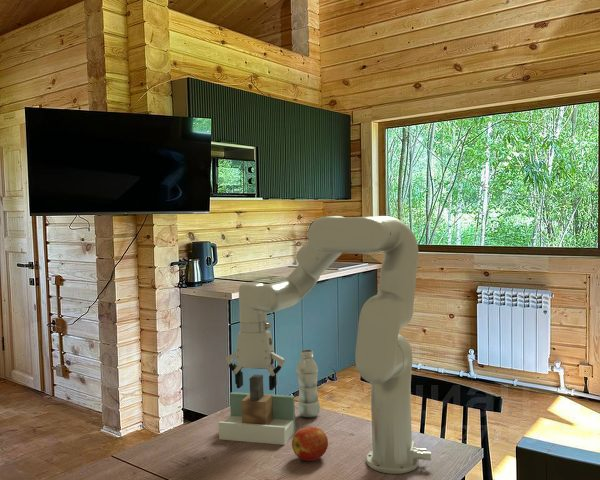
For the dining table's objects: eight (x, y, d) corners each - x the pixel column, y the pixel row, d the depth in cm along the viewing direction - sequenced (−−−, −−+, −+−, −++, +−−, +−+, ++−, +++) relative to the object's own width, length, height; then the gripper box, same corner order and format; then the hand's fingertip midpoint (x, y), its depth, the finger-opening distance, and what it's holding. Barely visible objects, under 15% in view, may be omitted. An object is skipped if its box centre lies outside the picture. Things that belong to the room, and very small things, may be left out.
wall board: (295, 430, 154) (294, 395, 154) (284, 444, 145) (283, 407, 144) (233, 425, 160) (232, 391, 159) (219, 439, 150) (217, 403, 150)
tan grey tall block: (273, 419, 154) (271, 374, 153) (266, 427, 148) (264, 380, 148) (250, 417, 156) (248, 373, 155) (242, 425, 150) (240, 379, 149)
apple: (288, 456, 138) (287, 425, 137) (317, 449, 141) (316, 419, 141) (303, 469, 130) (302, 436, 130) (333, 460, 134) (332, 429, 134)
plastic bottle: (318, 420, 161) (316, 353, 160) (296, 419, 163) (293, 353, 162) (321, 412, 168) (319, 348, 167) (300, 411, 169) (298, 348, 168)
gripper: (287, 325, 152) (289, 385, 153) (230, 323, 157) (232, 382, 158) (279, 330, 145) (281, 394, 146) (219, 329, 150) (221, 390, 150)
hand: (256, 387), depth 152 cm, fingers open, 9 cm apart
